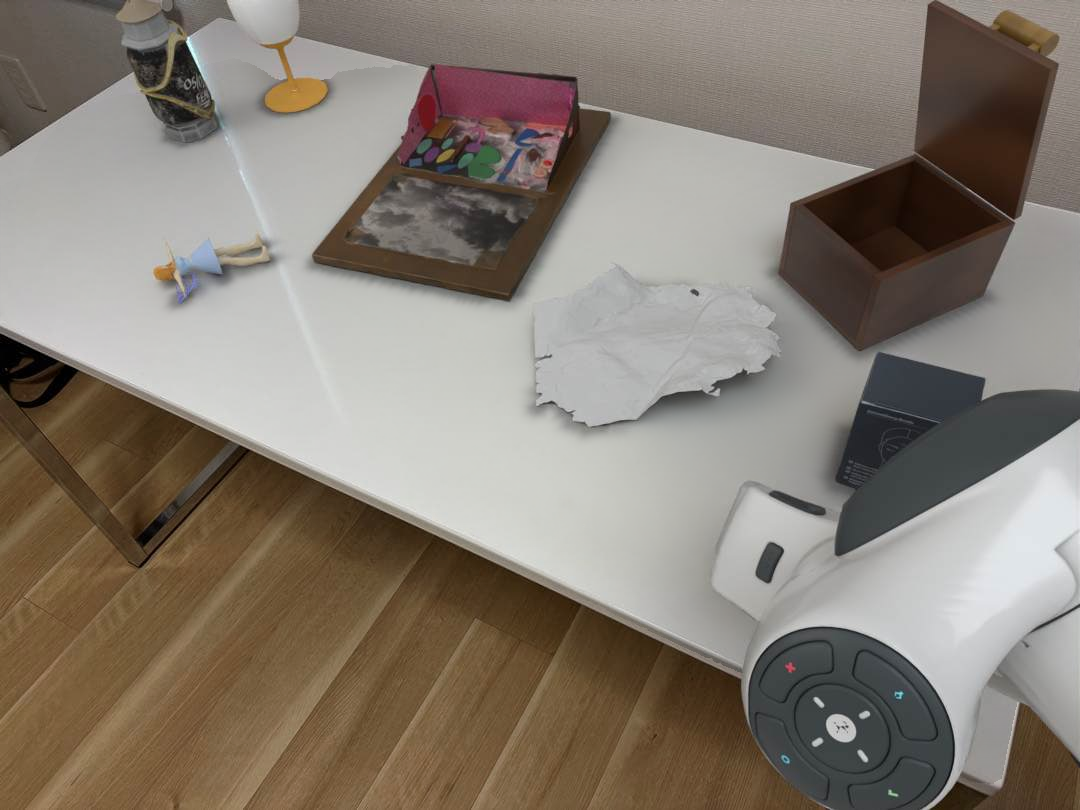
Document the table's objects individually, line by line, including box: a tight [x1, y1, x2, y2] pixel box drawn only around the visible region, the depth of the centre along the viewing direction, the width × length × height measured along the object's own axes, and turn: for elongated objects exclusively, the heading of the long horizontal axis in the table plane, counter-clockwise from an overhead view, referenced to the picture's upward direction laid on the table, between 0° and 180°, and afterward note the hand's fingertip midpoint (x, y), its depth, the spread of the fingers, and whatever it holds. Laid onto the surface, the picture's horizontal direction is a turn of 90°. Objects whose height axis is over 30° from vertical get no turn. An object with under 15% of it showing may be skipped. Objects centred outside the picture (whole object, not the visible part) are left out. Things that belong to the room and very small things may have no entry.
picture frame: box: [311, 63, 612, 301], centre depth 94 cm, size 24×35×8 cm
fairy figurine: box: [152, 230, 271, 304], centre depth 90 cm, size 12×5×12 cm
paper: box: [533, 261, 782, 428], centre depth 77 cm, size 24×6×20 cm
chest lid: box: [913, 0, 1060, 221], centre depth 69 cm, size 16×13×5 cm
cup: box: [226, 0, 329, 114], centre depth 109 cm, size 9×9×16 cm
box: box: [835, 351, 987, 489], centre depth 63 cm, size 8×6×11 cm
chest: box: [777, 153, 1016, 352], centre depth 77 cm, size 15×13×9 cm
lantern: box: [115, 0, 219, 143], centre depth 103 cm, size 9×8×25 cm
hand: (897, 557), depth 54 cm, fingers open, 8 cm apart
